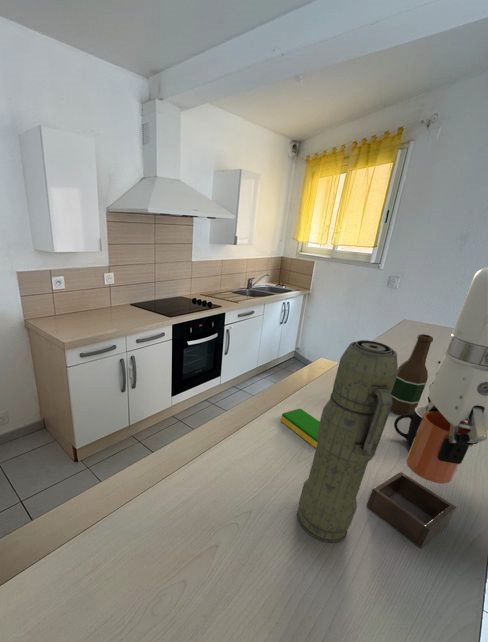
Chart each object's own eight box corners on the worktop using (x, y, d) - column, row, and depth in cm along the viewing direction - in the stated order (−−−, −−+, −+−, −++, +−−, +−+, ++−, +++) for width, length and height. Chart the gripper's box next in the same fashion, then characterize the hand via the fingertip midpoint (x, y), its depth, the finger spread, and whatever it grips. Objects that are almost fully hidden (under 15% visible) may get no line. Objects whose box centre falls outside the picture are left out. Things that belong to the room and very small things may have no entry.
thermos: (325, 493, 66) (372, 331, 52) (363, 547, 55) (434, 362, 42) (284, 497, 64) (322, 332, 51) (316, 554, 54) (374, 363, 40)
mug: (442, 446, 82) (457, 413, 78) (446, 467, 75) (463, 431, 71) (388, 430, 88) (400, 398, 84) (388, 448, 81) (400, 414, 77)
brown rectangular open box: (447, 524, 60) (456, 507, 59) (420, 548, 56) (429, 530, 54) (394, 487, 68) (400, 471, 67) (366, 505, 63) (372, 488, 62)
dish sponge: (319, 451, 78) (321, 443, 77) (279, 420, 89) (281, 413, 88) (339, 443, 81) (341, 436, 80) (298, 415, 92) (300, 407, 91)
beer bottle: (390, 400, 103) (415, 329, 94) (417, 411, 98) (446, 337, 89) (380, 407, 99) (405, 334, 89) (408, 420, 93) (438, 342, 84)
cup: (459, 474, 57) (481, 427, 53) (440, 489, 53) (462, 440, 49) (417, 451, 62) (435, 407, 58) (398, 463, 59) (415, 417, 55)
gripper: (551, 381, 40) (493, 488, 47) (475, 336, 56) (439, 422, 63) (481, 372, 42) (435, 477, 49) (426, 331, 57) (397, 415, 64)
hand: (438, 445), depth 56 cm, fingers closed on cup, 6 cm apart
